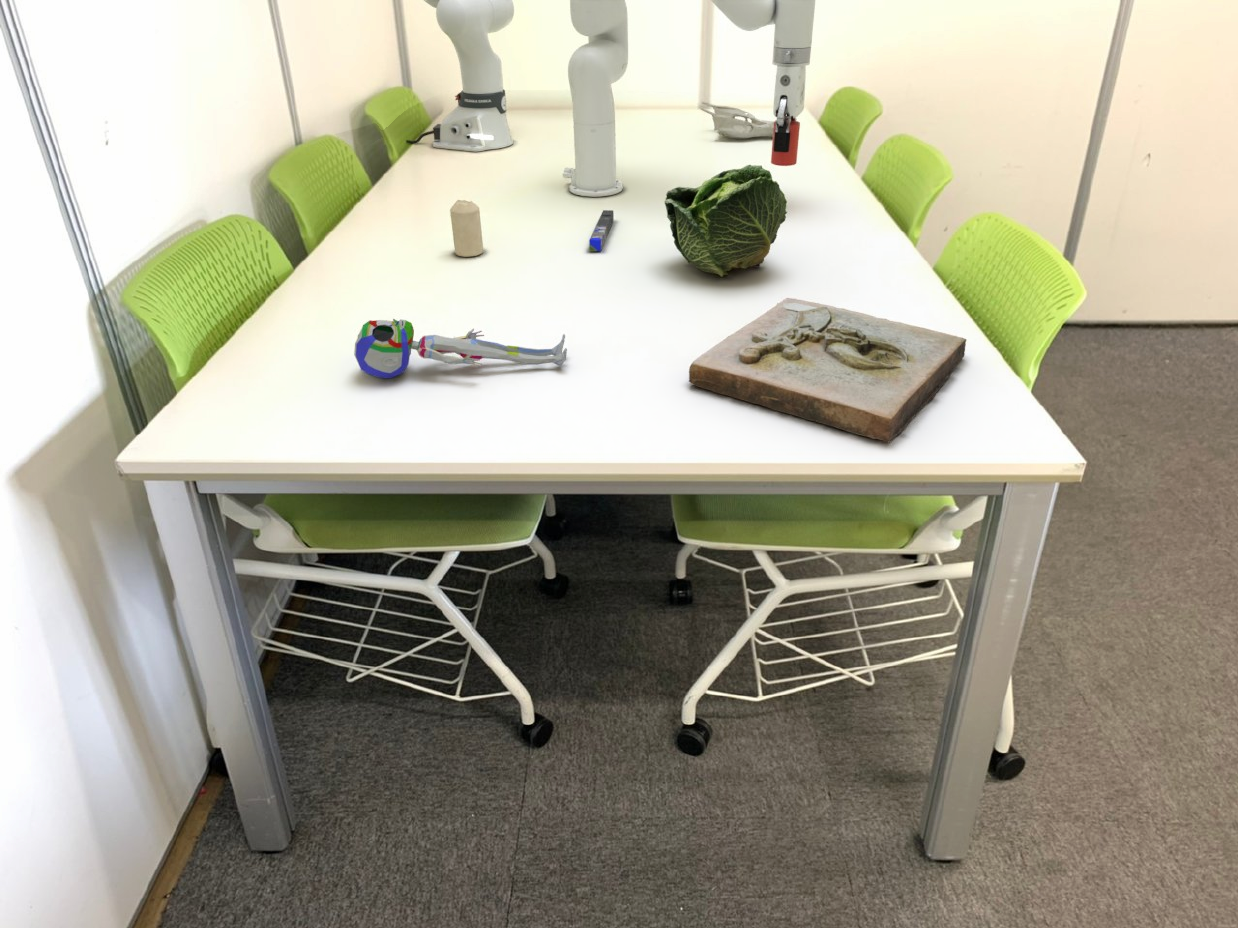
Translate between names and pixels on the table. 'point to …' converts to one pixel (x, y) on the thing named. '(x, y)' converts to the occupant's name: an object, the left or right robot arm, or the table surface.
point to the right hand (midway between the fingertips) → (784, 147)
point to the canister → (791, 155)
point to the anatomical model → (738, 123)
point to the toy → (435, 349)
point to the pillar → (601, 230)
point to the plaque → (832, 366)
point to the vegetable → (727, 219)
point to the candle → (466, 228)
